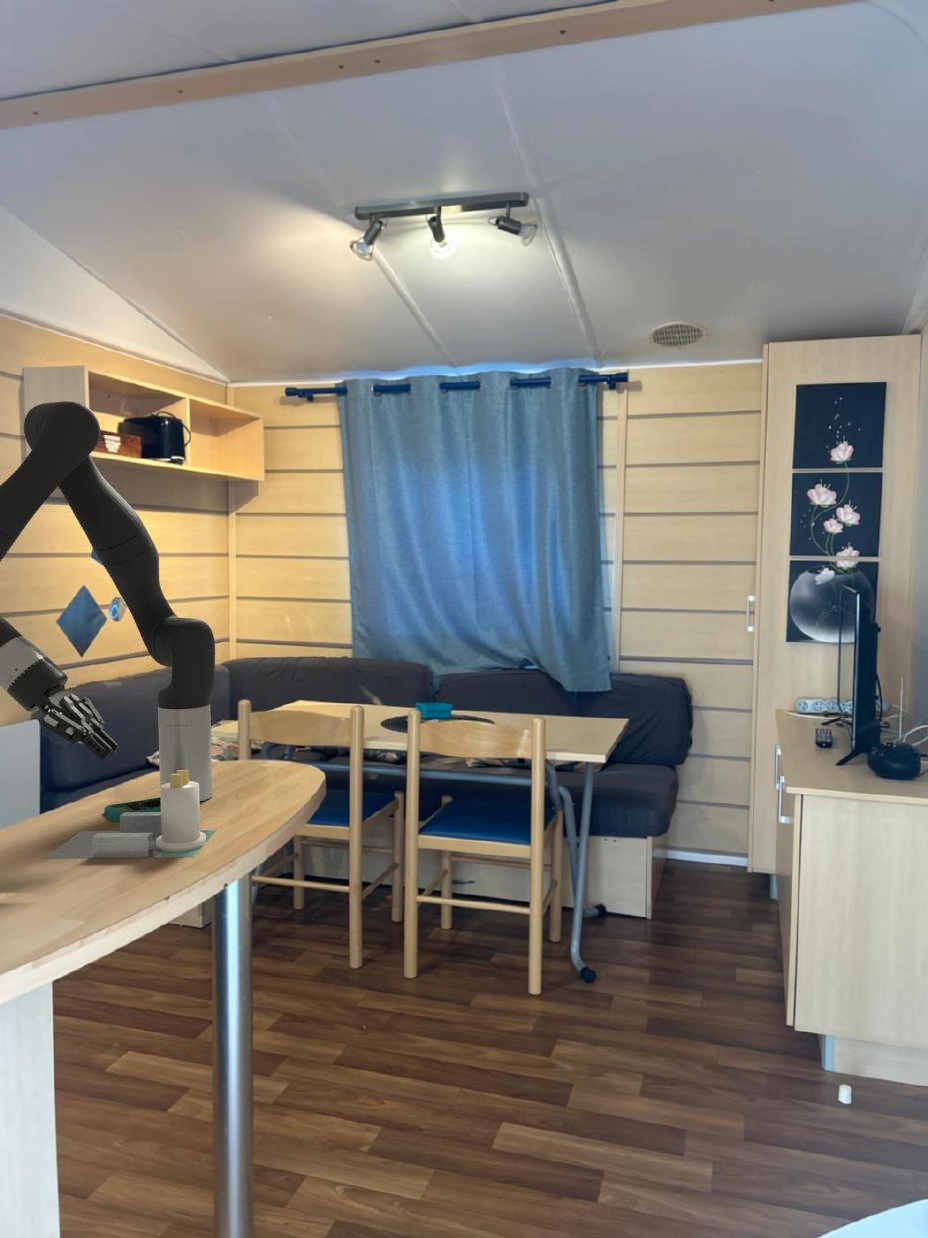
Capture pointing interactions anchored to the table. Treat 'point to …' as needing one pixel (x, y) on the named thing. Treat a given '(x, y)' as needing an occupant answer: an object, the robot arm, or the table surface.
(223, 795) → the table surface
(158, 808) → the digital multimeter
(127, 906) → the table surface
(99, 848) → the housing
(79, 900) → the table surface
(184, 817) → the plug
